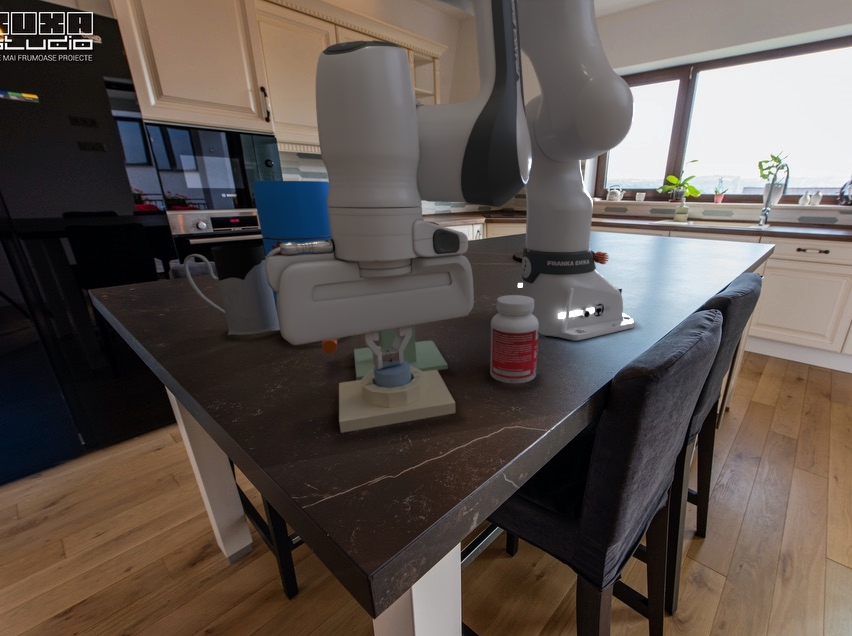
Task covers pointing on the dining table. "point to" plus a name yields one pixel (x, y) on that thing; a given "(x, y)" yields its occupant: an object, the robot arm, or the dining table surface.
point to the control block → (392, 401)
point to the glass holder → (241, 288)
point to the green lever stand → (414, 353)
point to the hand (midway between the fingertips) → (388, 365)
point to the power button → (393, 375)
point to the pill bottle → (514, 340)
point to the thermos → (292, 213)
